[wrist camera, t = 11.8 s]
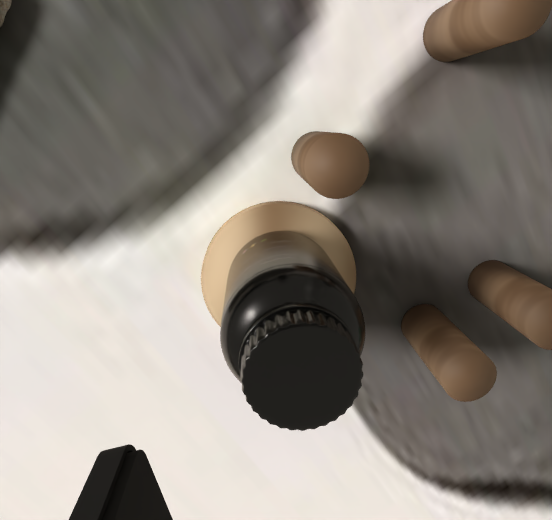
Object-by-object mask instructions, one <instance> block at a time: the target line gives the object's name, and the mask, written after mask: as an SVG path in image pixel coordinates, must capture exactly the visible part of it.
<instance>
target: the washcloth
mask: <svg viewBox="0 0 552 520" xmlns="http://www.w3.org/2000/svg"><path fill="white" fill-rule="evenodd" d="M11 1H12V0H0V27H1V25H2V24H3V22H4V18H5V15H6V12H7V11H8V10H9V8H10V6H11Z"/></svg>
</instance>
